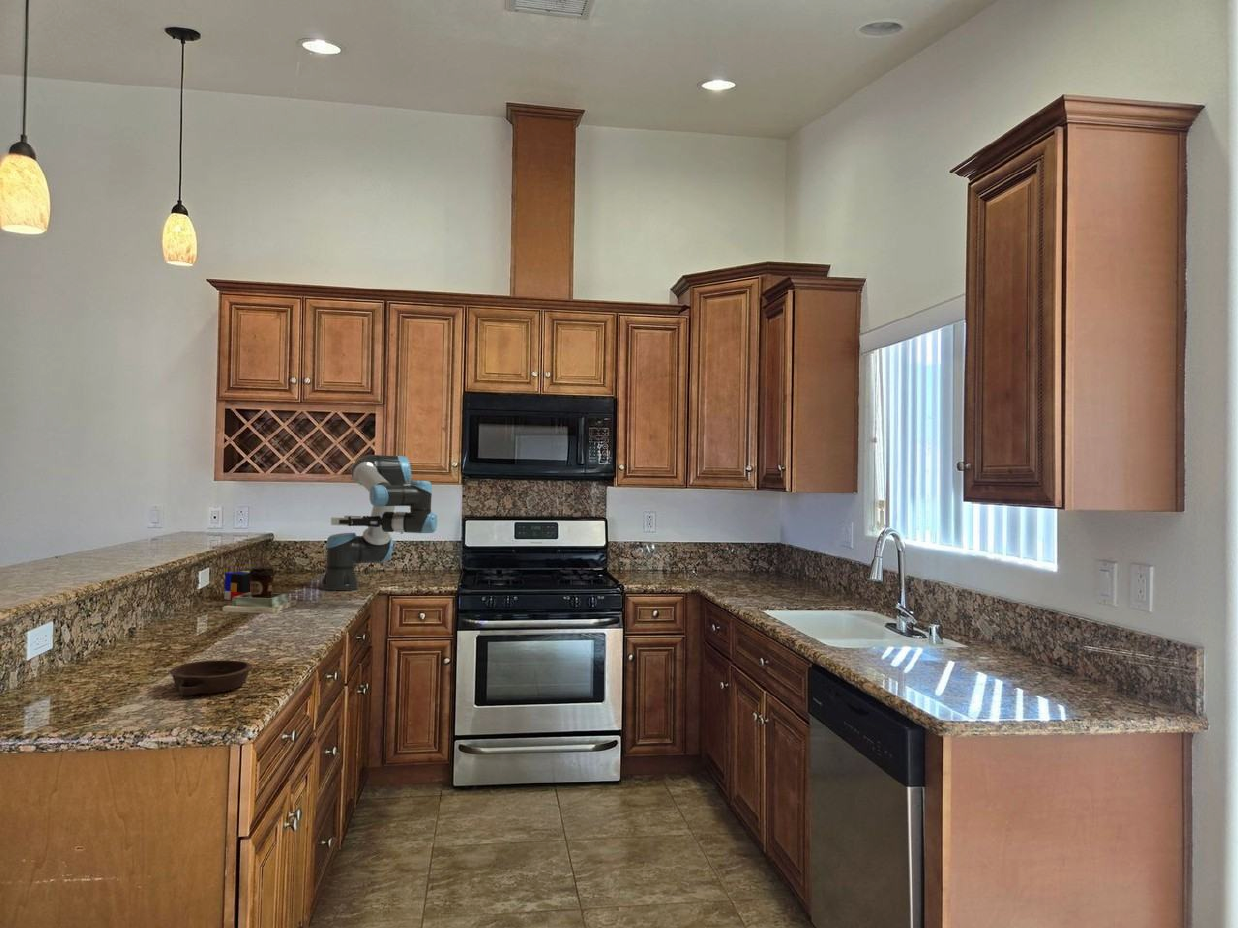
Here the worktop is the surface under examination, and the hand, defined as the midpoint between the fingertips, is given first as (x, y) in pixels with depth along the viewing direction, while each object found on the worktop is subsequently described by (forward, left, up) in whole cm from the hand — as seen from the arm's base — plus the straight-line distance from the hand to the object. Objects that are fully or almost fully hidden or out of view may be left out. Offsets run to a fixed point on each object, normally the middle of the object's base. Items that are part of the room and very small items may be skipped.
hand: (338, 520), depth 328 cm
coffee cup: (+10, -24, -31) cm, 40 cm away
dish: (+121, +15, -32) cm, 126 cm away
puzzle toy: (-9, -39, -32) cm, 51 cm away
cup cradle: (+10, -24, -32) cm, 41 cm away
